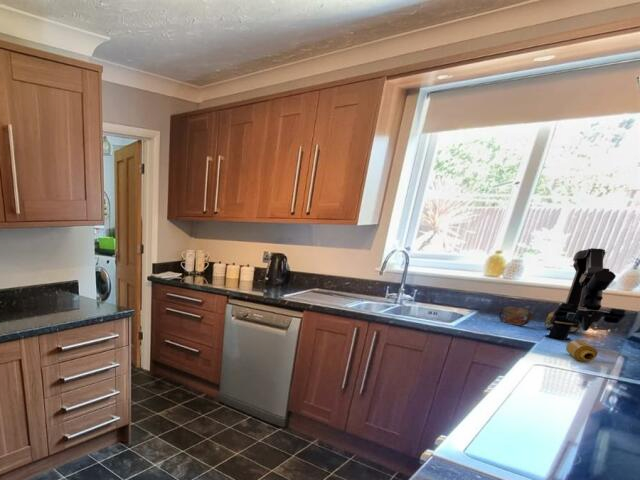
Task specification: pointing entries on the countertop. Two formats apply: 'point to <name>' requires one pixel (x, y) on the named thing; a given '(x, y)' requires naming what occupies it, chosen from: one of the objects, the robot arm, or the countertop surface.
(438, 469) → the countertop surface
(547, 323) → the burger
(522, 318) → the tin
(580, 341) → the bottle
